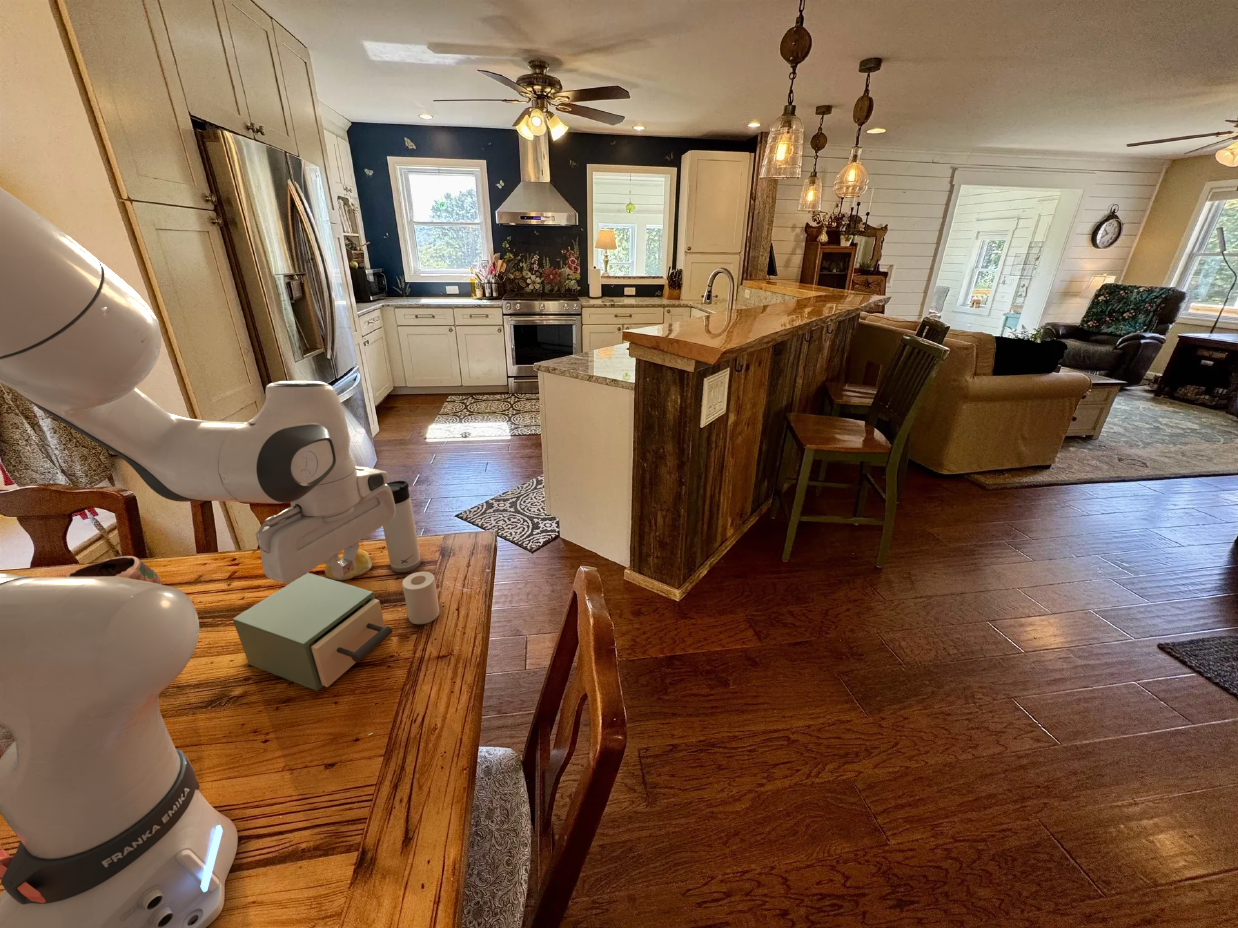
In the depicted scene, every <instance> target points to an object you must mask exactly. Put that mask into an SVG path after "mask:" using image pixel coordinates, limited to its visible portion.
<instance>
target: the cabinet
mask: <svg viewBox="0 0 1238 928" xmlns="http://www.w3.org/2000/svg"><path fill="white" fill-rule="evenodd" d="M373 599H376V598H375V592H374V591H372V590H368V589H365V588H362V587H358V586H356V585H355V586H354V585H351V584H348V583H344V582H342V581H339V580H335V579H331V578H329V577H325V576H321V575H317V574H314V573H311V572H307V573H305V574H304V575H302V576H301V577H299V578H297V579H296V580H294V581H292V582H291V583H287V585H284V586H283V587H281V589H278V590H277V591H275V592H273V593H272V594H270V595H269V596H267V597H265V598H264V599H262V600H260V601H259V602H257V603H256V604H254V605H253V606H251V607H249V608H248V609H246V610H244V611H243V612H241V613H240V614H238V615H236V616H235V617H233V618H232V622H233V624H234V627H235V630H236V633H237V635H238V638H239V641H240V643H241V647H242V649H243V652H244V654H245V657H246V660H247V664H248V665H250V666H252V667H255V668H257V669H259V670H263V671H265V672H267V673H270V674H272V675H274V676H278V677H280V678H283V679H285V680H287V681H291V682H292V683H295V684H298V685H300V686H303V687H306V688H308V689H310V690H313V691H316V692H318V691H319V690H321V689H322V688H323V687H324V686H323V685H322V683H321V680H320V678H319V677H318V673H317V670H316V667H315V663H314V660H313V656H312V653H311V650H310V646H309V644H311V643H312V642H313V641H315V640H316V639H317V638H318V637H320V636H321V635H322V634H324V633H325V632H326V631H328V630H329V629H330V628H332V627H333V626H334V625H336V624H337V623H338V622H340V621H341V620H342V619H344V618H345V617H346V616H348V615H349V614H350V613H351V612H353V611H354V610H355V609H357V608H358V607H359V606H361V605H362V604H363V603H365V602H366V604H368V603H369V602H370V601H372V600H373Z"/></svg>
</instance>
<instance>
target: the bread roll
mask: <svg viewBox="0 0 1238 928" xmlns="http://www.w3.org/2000/svg"><path fill="white" fill-rule="evenodd" d="M338 555H339V559H337V560H336V561H337V562H338V561H340V560H341V559H343V554H341V553H339V554H338ZM355 562H356V566H357V567H356V568H355V569H353V570H352V571H350V572H349V573H347V574H346V575H344V576H343V577H341V578H337V577H334V576H333V574H332V571H331V567H329V566H328V565H326V564H325V566H324V573H325V575H326V577H327V578H328V579H331V580H335V581H345V580H351V579H352V578H354V577H359V576H362V575H364V574H366V573H367V572H369V571H370V569H371V568H372V567H373V564H372V560H371V558H370V554H369V552H367V551H365V550H363V549H358V552H357V555H356V558H355Z"/></svg>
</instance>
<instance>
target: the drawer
mask: <svg viewBox="0 0 1238 928" xmlns="http://www.w3.org/2000/svg"><path fill="white" fill-rule="evenodd" d="M392 633H393V628H392V627H391V626H389V625H385V620H384V615H383V611H382V606H381V601H380V600H379V599H376V598H375V599H373V600H372V601H370V602H369V603H368V604H366V602H365V603H363V604H362V605H361V606H359V607H358V608H357V609H355V610H354V611H353V612H351V613H350V614H349V615H348V616H346V617H345V618H344V619H342V620H341V621H340V622H338V623H337V624H336V625H334V626H333V627H332V628H330V629H329V630H328V631H326V632H325V633H324V634H322V635H321V636H320V637H318V638H317V639H316V640H315V641H313V642H312V643H311V644H309V646H310V650H311V653H312V656H313V660H314V663H315V667H316V670H317V673H318V677H319V678H320V680H321V683H322V685H323V687H326V688H329V687H330V686H331V685H332V684H333V683H334V682H336V681H337V680H338V679H339V678H340V677H341V676H343V674H345V673H346V672H347V671H348V670H350V669H351V668H352V667H353V666H354V665H355V664H356V663H357V664H358V663H360V662H361V661H363V659H364V658H366V657H367V656H368V655H369V654H370V653H371V652H373V650H375V649H376V648H377V647H378V646H379V645H380V644H381V643H383V642H384V641H385V640H386V639H387V638H388V637H389V636H390V635H391V634H392Z"/></svg>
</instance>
